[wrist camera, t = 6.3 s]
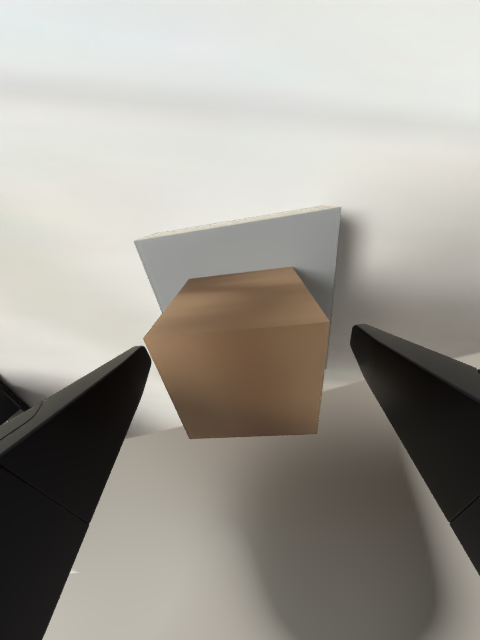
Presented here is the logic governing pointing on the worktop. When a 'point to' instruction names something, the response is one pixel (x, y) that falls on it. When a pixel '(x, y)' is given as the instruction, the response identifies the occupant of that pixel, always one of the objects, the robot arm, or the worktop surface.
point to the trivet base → (247, 252)
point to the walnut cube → (243, 354)
